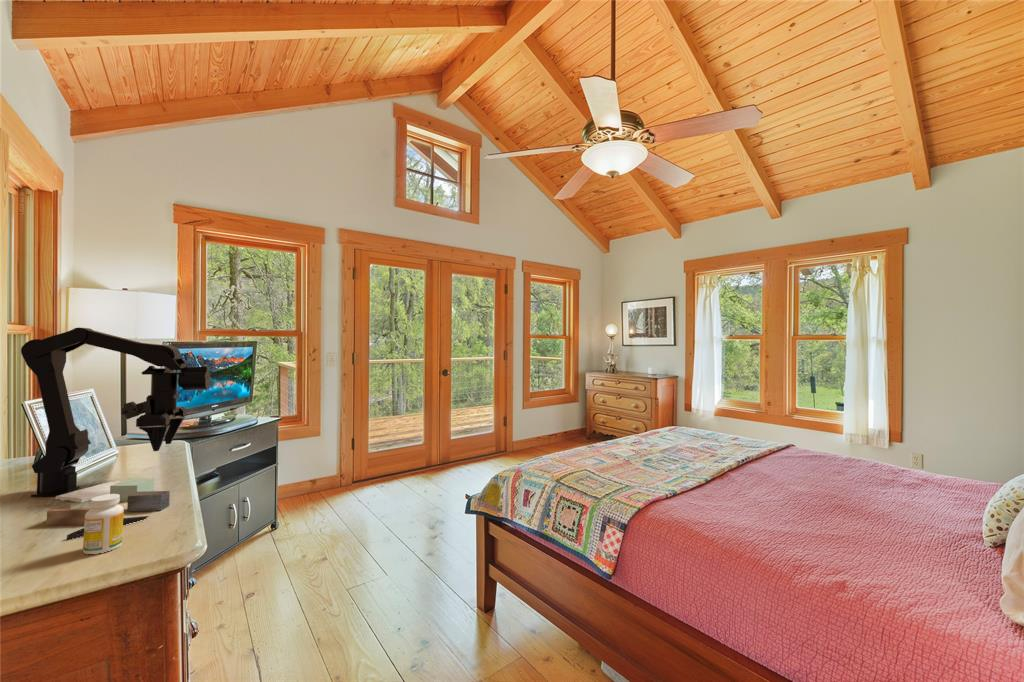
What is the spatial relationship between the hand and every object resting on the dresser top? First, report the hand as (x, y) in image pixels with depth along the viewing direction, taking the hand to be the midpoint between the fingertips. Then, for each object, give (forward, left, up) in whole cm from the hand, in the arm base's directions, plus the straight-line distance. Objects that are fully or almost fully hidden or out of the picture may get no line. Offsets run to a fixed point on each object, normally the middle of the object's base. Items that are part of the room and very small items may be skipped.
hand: (162, 447), depth 120 cm
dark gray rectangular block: (+9, -20, -10) cm, 24 cm away
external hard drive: (-11, -6, -11) cm, 17 cm away
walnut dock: (0, -25, -10) cm, 27 cm away
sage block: (0, -11, -10) cm, 15 cm away
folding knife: (+9, -31, -11) cm, 34 cm away
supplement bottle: (+15, -41, -10) cm, 44 cm away
